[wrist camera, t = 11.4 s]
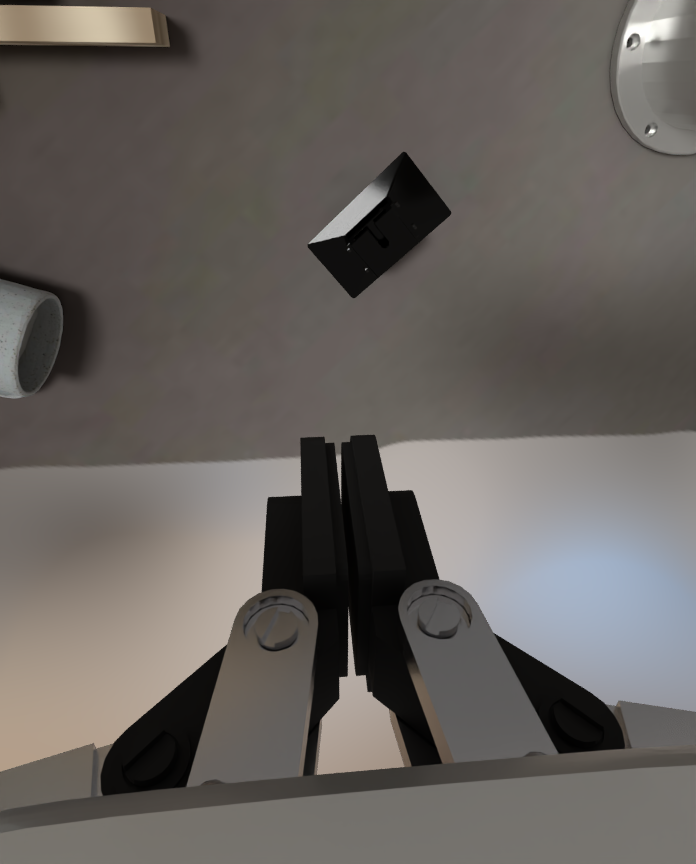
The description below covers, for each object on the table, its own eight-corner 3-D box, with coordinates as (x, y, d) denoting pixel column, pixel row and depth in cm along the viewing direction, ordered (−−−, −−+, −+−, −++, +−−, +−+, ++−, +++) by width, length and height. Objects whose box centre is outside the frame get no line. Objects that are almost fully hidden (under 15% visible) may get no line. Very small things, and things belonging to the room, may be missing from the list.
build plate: (413, 123, 36) (427, 128, 32) (472, 208, 40) (491, 222, 36) (283, 250, 40) (281, 267, 36) (346, 318, 43) (351, 340, 40)
